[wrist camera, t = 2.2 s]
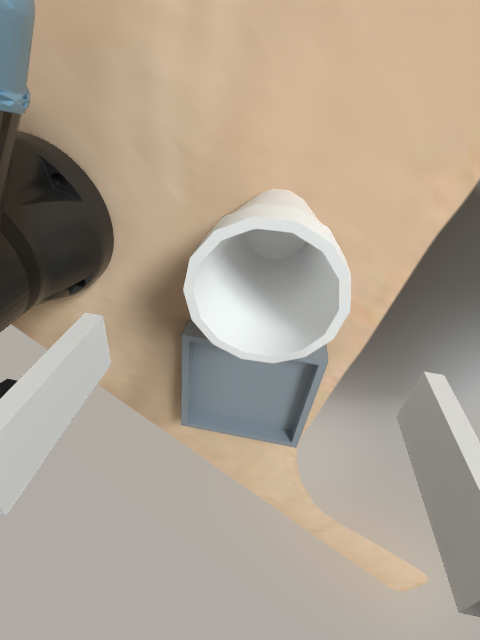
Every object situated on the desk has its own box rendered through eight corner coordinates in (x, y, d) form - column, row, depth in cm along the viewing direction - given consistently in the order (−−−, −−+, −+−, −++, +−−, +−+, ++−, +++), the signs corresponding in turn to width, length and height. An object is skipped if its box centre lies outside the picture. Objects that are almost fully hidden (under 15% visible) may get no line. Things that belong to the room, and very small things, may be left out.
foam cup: (215, 176, 27) (164, 227, 16) (329, 159, 25) (353, 204, 15) (234, 277, 32) (205, 365, 22) (330, 269, 30) (348, 361, 20)
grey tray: (186, 409, 45) (181, 425, 43) (188, 320, 36) (181, 334, 34) (296, 431, 44) (296, 447, 42) (326, 345, 35) (328, 360, 33)
